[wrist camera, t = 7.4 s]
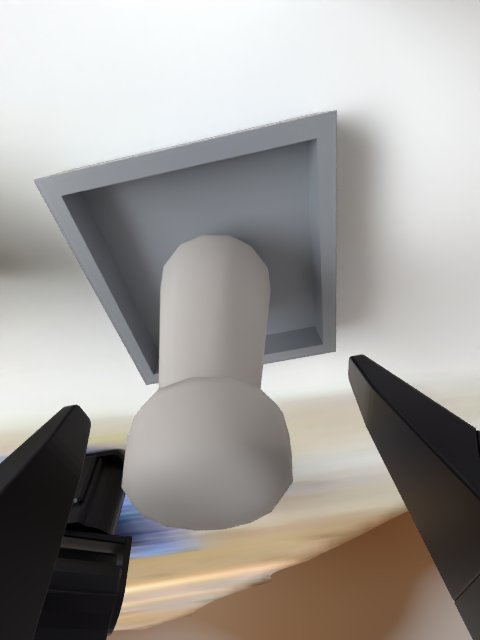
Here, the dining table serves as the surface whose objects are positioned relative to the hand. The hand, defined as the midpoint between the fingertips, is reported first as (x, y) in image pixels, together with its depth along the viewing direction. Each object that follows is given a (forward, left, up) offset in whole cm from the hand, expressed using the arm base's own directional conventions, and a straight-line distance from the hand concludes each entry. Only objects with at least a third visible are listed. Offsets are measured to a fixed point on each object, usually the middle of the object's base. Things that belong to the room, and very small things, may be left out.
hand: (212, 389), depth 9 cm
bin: (0, 0, -10) cm, 10 cm away
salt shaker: (0, 0, -10) cm, 10 cm away
